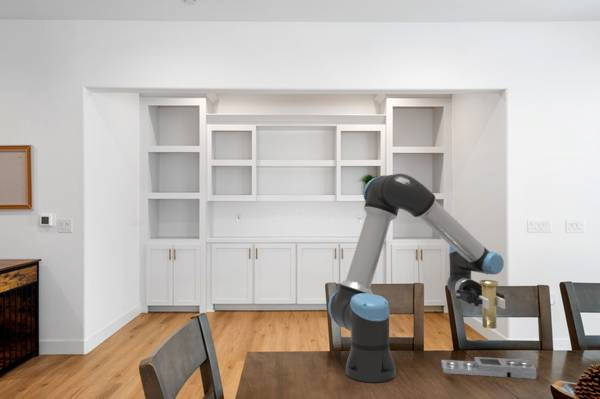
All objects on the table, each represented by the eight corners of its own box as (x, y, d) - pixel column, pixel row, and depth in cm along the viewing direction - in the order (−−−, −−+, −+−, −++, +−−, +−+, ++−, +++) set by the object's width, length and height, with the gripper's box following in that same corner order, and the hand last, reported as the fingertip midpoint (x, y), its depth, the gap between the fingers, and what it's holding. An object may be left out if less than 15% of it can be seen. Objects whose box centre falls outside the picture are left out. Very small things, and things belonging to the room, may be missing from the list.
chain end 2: (478, 375, 137) (478, 363, 137) (474, 366, 144) (474, 355, 145) (536, 379, 133) (536, 366, 133) (528, 369, 141) (528, 358, 141)
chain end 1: (443, 373, 139) (443, 365, 139) (441, 364, 147) (441, 357, 147) (506, 377, 135) (506, 369, 135) (500, 368, 143) (500, 360, 143)
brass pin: (482, 328, 138) (481, 282, 138) (479, 324, 143) (478, 279, 144) (500, 329, 137) (499, 282, 137) (496, 325, 142) (495, 280, 142)
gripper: (494, 301, 158) (525, 317, 135) (444, 301, 159) (467, 317, 135) (493, 279, 158) (524, 291, 135) (444, 279, 159) (466, 291, 135)
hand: (495, 304), depth 135 cm, fingers closed on brass pin, 4 cm apart
